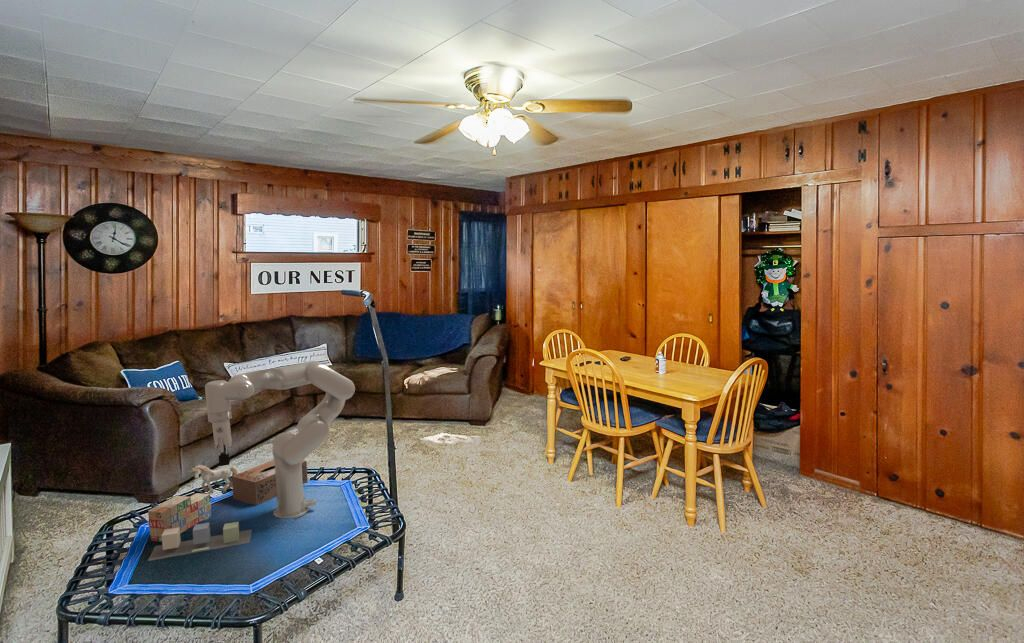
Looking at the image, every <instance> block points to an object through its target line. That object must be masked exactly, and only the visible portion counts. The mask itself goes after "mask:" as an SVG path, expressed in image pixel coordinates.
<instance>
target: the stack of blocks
mask: <svg viewBox="0 0 1024 643" xmlns="http://www.w3.org/2000/svg"><path fill="white" fill-rule="evenodd" d="M147 512H148V514H147V515H148V526H149V534H150V537H149V538H150V542H151V541H153V542H161V543H162V534H163V532H164V530H166V529H172V528H178V527H180V534H182V533H183V532H186V531H187V530H188V529H190V528H192V527H194V526H195V525H196V524H199V523H200V522H202V521H203V522H204V521H208V520H209V519H211V518H212V517H213V516H212V502H211V494H208V493H198V492H197V493H194V494H192V495H190V496H185V495H184V496H183V495H175V496H173V497H171V498H170V499H167V500H166V501H163V503H160V504H158V505H156V506H154V507H152V508H150V509H148V511H147Z"/></svg>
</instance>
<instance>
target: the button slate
mask: <svg viewBox="0 0 1024 643" xmlns="http://www.w3.org/2000/svg"><path fill="white" fill-rule="evenodd" d="M210 525H211V524H210V522H203V523H196V524H195V525H193V528H192V540H193V541H194V545H195V544H200V543H206V542H209V539H210V537H211V526H210Z"/></svg>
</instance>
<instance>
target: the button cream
mask: <svg viewBox="0 0 1024 643" xmlns="http://www.w3.org/2000/svg"><path fill="white" fill-rule="evenodd" d="M180 542H182V540H181V533H180V527H178V528H172V529H166V530H164V532H163V534H162V542H161V545H162V546H163V550H166V549H172V548H178V547H179V544H180Z"/></svg>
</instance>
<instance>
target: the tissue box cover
mask: <svg viewBox="0 0 1024 643" xmlns="http://www.w3.org/2000/svg"><path fill="white" fill-rule="evenodd" d="M301 463H302V480H303V485H305V484H307V483H308V482H309V480H308V466H307V465H308V463H307V460H305V459H304V460H303V461H301ZM231 479H232V496H233V497H232V499H233V500H236V501H240V502H243V503H245V504H249V505H253V506H259V505H262V504H264V503H265V502H268V501H270V500H272V499H274V498H277V492H276V475H275V463H274V459H273V460H269V461H267V462H265V463H261V464H260V465H256V466H254V467H252V468H249V469H247V470H243V471H241V472H237V474H236V475H233V476H232V475H231Z"/></svg>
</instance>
